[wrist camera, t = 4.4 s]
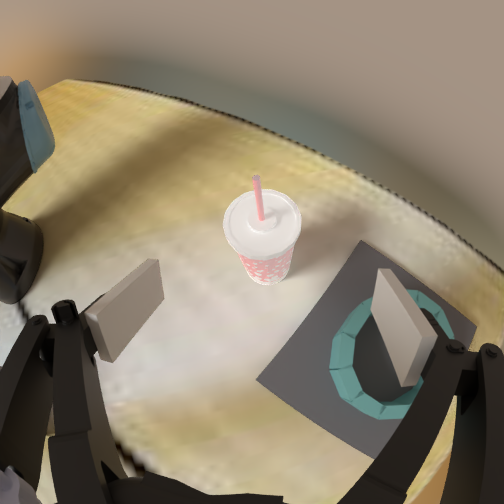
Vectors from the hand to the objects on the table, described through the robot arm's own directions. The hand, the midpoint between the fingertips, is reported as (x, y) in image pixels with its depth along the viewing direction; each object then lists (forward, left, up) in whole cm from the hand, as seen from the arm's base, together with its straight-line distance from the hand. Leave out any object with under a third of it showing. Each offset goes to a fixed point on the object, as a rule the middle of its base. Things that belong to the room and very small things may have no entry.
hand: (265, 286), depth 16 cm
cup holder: (+8, +9, -12) cm, 17 cm away
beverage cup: (-6, +2, -12) cm, 14 cm away
